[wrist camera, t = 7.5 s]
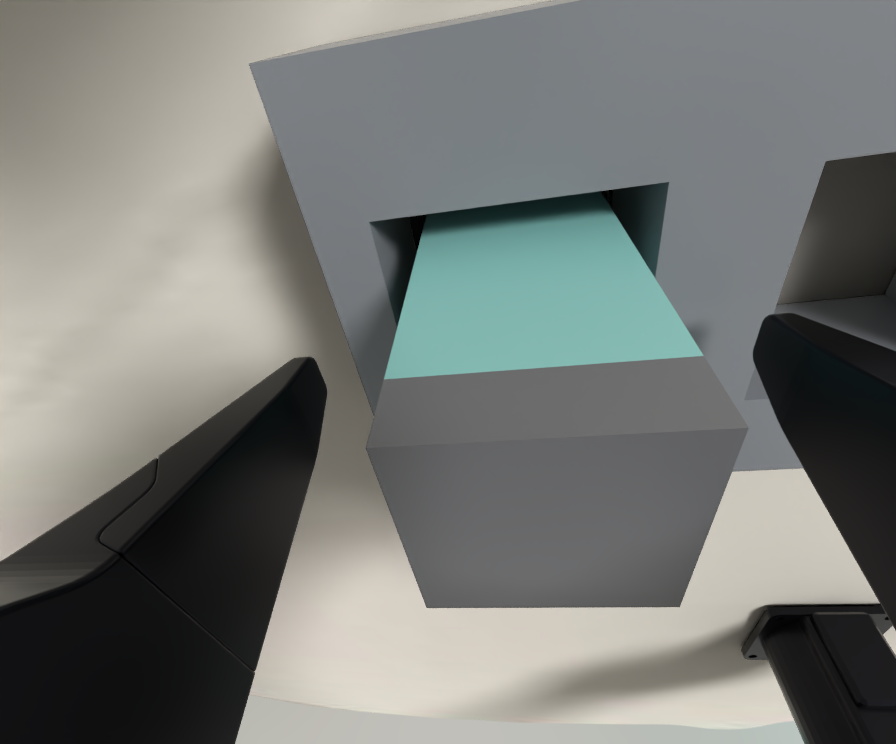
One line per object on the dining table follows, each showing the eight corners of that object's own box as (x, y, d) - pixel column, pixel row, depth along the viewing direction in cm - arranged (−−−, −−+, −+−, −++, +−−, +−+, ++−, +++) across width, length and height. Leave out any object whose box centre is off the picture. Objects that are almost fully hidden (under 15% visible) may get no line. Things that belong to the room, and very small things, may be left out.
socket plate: (889, 364, 15) (997, 458, 12) (414, 399, 17) (399, 487, 14) (1167, -119, 8) (1594, -195, 5) (318, 45, 10) (248, 63, 7)
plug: (580, 302, 14) (679, 606, 7) (453, 314, 15) (426, 607, 8) (586, 168, 12) (748, 427, 5) (433, 188, 12) (366, 447, 5)
